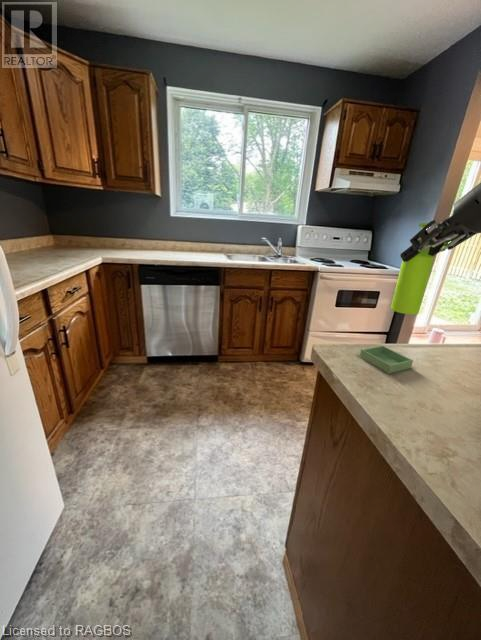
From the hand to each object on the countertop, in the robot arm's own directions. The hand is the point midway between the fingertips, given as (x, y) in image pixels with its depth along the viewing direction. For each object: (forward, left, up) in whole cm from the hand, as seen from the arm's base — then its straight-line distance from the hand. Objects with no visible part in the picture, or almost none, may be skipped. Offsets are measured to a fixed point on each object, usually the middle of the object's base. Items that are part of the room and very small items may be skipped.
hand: (412, 258), depth 62 cm
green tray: (-3, -1, -29) cm, 29 cm away
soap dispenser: (0, +2, -12) cm, 13 cm away
